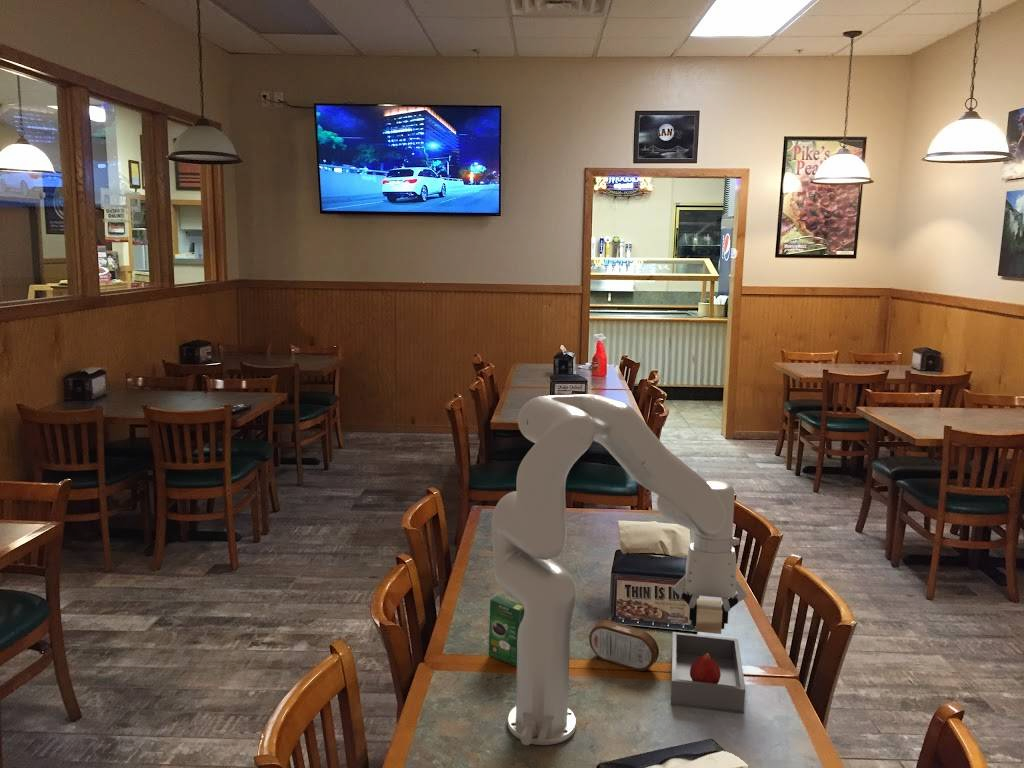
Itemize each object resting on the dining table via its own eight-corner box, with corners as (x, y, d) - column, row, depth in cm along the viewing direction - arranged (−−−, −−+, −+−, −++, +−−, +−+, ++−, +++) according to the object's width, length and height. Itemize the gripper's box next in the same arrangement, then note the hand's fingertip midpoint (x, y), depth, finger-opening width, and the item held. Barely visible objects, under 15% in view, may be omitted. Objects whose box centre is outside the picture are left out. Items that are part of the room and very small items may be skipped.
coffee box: (526, 662, 168) (527, 604, 165) (518, 668, 165) (519, 610, 163) (496, 650, 172) (496, 594, 170) (487, 656, 170) (488, 599, 168)
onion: (683, 689, 157) (685, 652, 156) (699, 678, 161) (701, 642, 160) (709, 702, 153) (711, 664, 152) (724, 690, 157) (727, 653, 156)
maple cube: (721, 634, 162) (722, 611, 161) (695, 631, 163) (697, 609, 162) (719, 622, 167) (720, 600, 166) (695, 620, 168) (696, 598, 167)
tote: (743, 713, 151) (745, 689, 150) (670, 704, 153) (671, 680, 152) (736, 660, 170) (737, 639, 169) (671, 653, 172) (672, 631, 171)
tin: (658, 670, 166) (660, 633, 164) (653, 677, 163) (655, 639, 161) (592, 650, 173) (594, 614, 172) (586, 657, 170) (587, 620, 169)
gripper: (754, 538, 163) (749, 620, 167) (670, 531, 167) (666, 612, 170) (758, 552, 156) (752, 638, 160) (669, 545, 159) (666, 629, 163)
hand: (708, 623), depth 165 cm, fingers closed on maple cube, 5 cm apart
